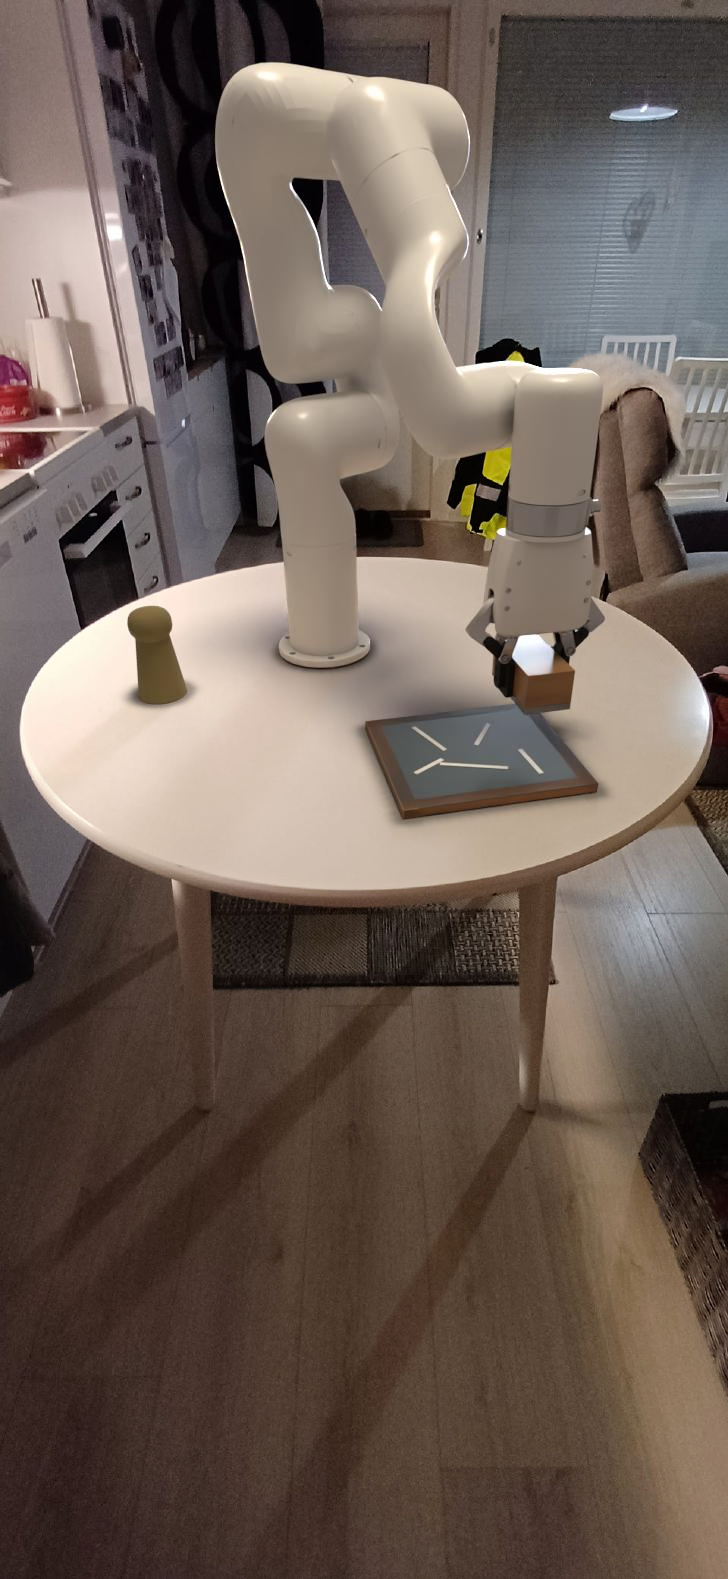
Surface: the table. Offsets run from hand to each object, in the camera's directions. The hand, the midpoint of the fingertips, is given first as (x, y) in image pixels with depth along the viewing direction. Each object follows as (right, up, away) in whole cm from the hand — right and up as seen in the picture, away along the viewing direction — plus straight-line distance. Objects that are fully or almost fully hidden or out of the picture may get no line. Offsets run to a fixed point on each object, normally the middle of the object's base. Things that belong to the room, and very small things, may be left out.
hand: (529, 687), depth 84 cm
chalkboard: (-6, -8, 0) cm, 10 cm away
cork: (-43, +1, +14) cm, 46 cm away
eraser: (0, 0, 0) cm, 0 cm away
